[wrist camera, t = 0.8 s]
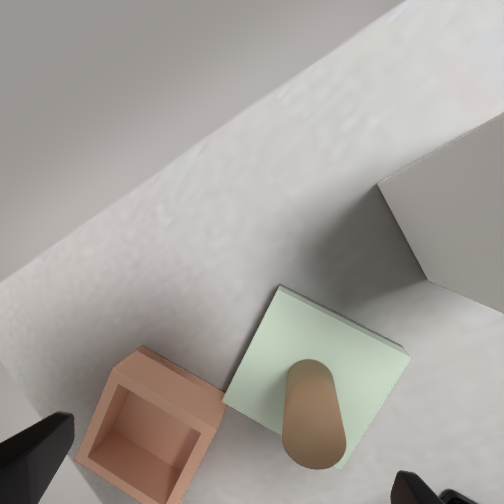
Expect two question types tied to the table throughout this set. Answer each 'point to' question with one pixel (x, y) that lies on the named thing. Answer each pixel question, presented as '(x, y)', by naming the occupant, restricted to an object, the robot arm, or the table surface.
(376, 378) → the lid
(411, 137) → the table surface
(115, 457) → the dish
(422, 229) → the milk carton
